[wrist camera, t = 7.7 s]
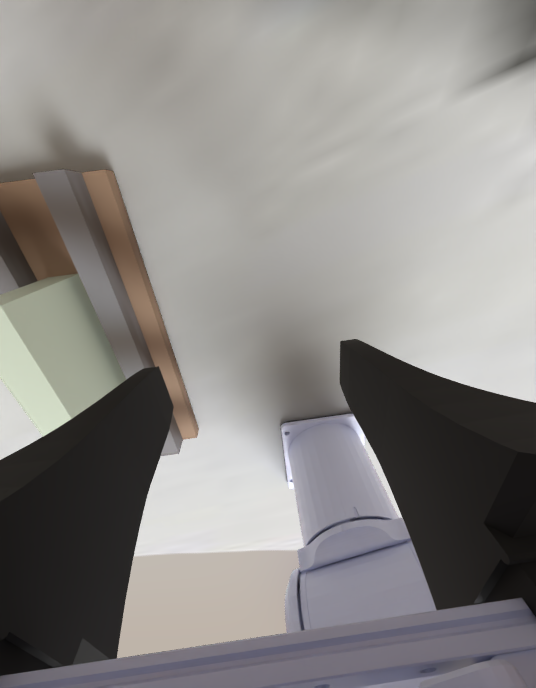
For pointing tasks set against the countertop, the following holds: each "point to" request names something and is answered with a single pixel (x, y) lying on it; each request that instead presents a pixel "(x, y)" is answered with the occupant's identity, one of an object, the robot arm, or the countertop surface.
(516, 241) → the countertop surface
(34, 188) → the track board
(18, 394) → the door panel
